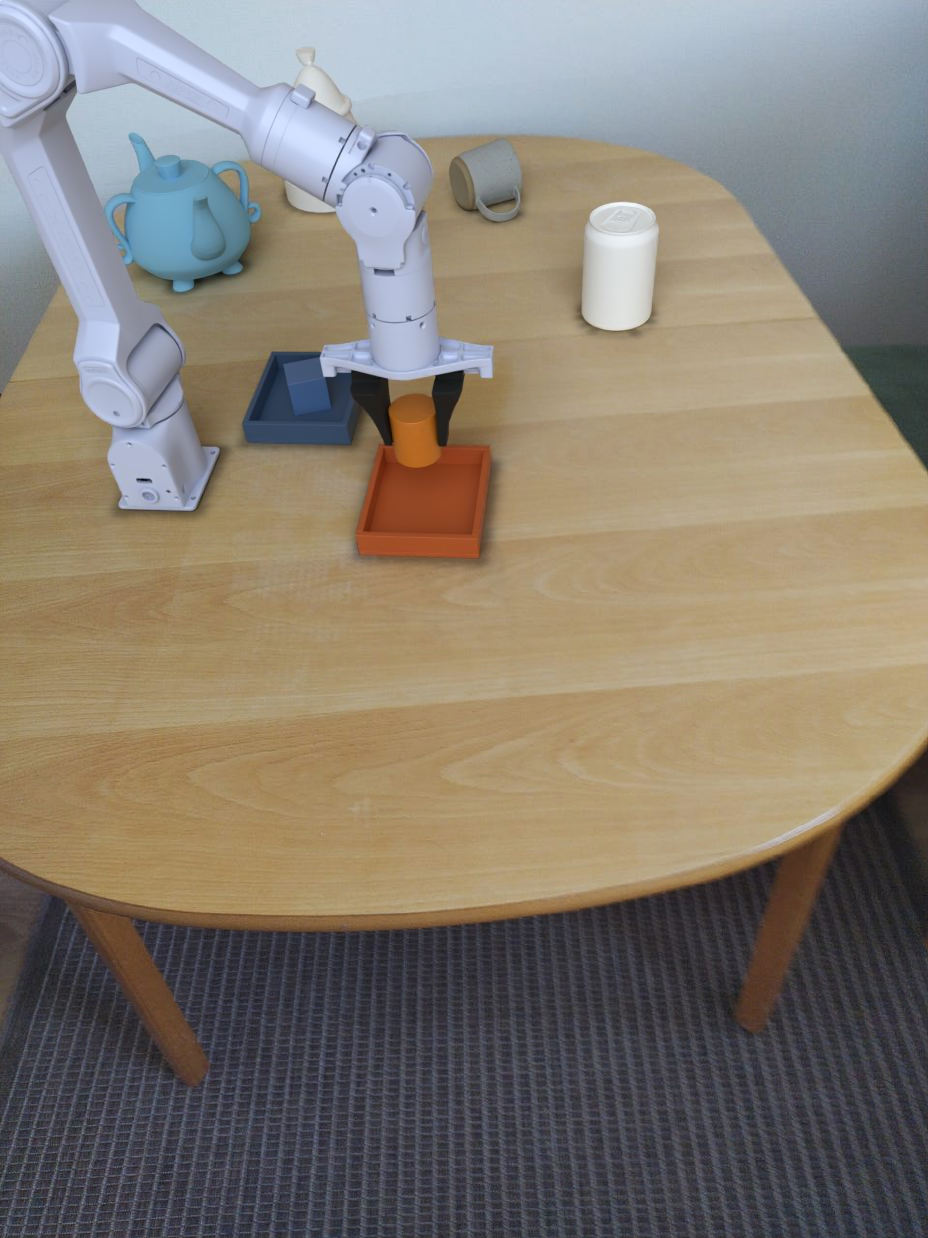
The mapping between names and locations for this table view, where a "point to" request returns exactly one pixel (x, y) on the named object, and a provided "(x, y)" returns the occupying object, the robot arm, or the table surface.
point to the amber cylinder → (414, 430)
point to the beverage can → (619, 265)
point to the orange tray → (426, 505)
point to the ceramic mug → (487, 178)
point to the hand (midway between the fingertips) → (417, 439)
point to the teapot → (183, 218)
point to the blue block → (307, 386)
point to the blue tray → (275, 413)
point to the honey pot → (329, 98)
